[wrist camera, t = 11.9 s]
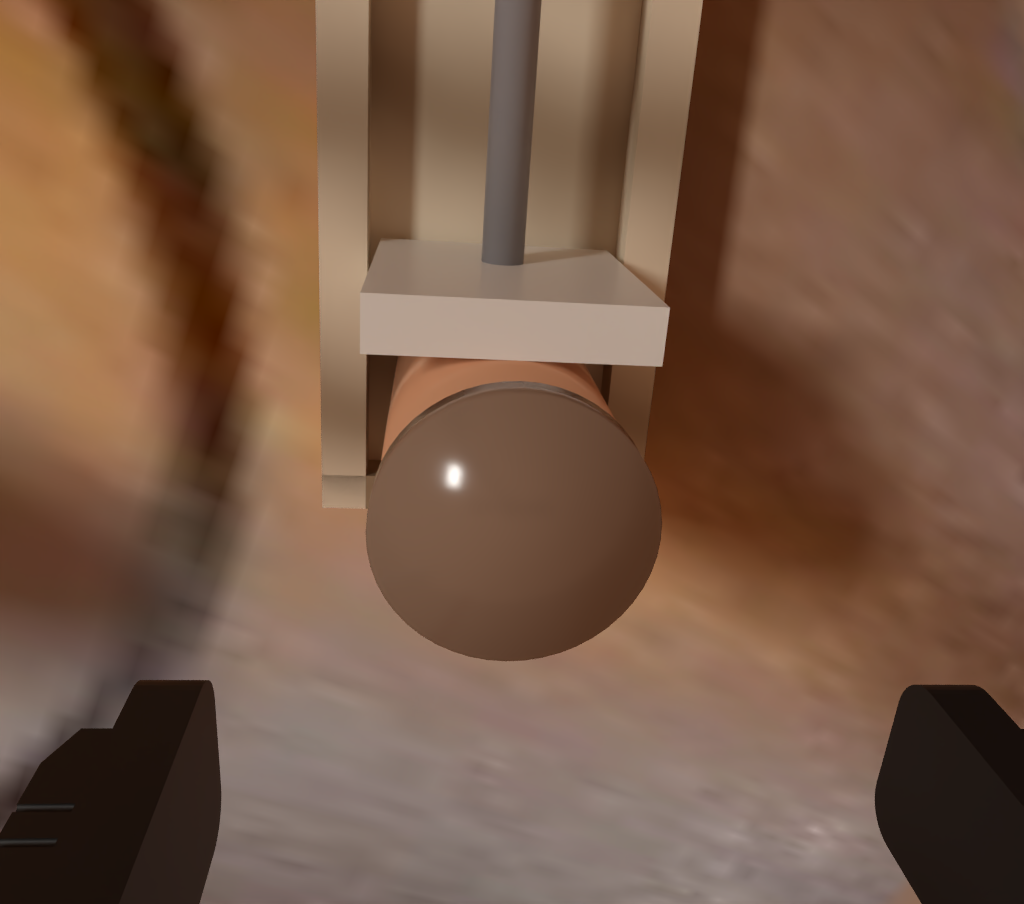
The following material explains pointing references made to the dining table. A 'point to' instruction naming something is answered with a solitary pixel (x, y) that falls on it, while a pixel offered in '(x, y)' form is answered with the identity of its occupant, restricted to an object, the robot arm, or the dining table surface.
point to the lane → (462, 171)
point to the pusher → (509, 259)
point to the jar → (508, 507)
